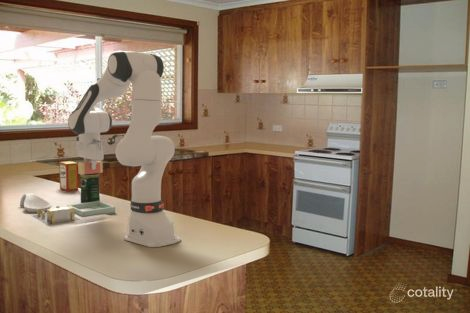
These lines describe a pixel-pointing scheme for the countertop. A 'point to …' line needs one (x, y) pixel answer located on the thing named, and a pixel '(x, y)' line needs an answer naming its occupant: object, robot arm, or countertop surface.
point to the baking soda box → (68, 175)
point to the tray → (96, 205)
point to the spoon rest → (34, 203)
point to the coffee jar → (90, 187)
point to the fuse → (89, 168)
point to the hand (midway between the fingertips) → (90, 168)
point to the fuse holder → (56, 215)
